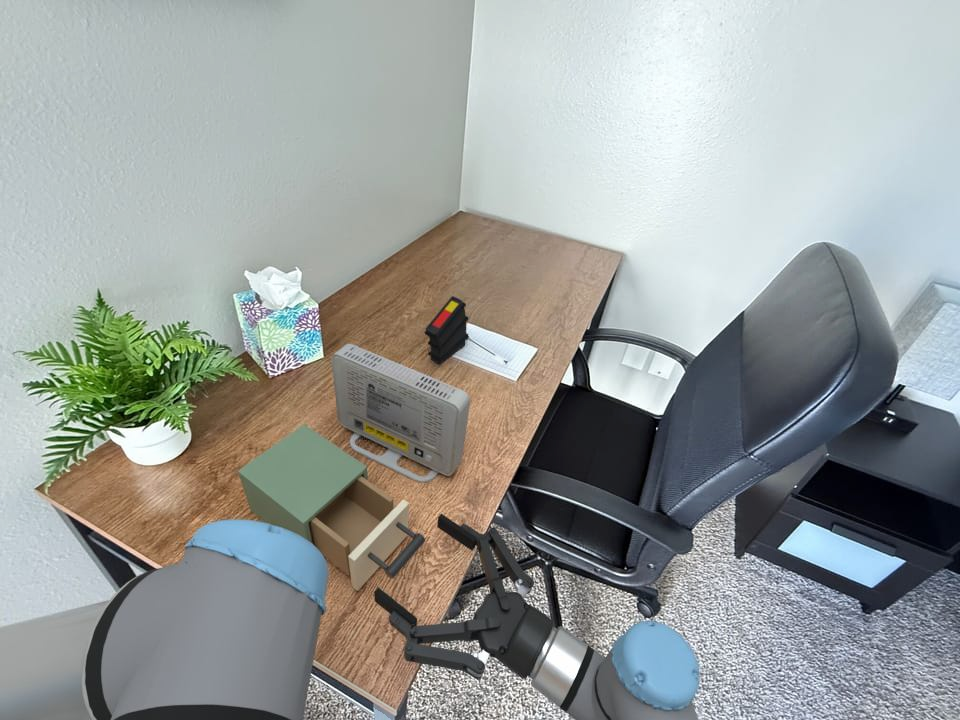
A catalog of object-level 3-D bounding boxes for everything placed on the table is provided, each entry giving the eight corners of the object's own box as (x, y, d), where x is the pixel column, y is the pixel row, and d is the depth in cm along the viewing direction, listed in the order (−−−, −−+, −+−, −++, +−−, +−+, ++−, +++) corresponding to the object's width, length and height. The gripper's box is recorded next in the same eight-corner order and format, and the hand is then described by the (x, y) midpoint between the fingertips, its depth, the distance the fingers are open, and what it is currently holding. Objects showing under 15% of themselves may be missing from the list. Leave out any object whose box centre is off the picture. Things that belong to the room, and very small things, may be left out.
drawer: (432, 551, 74) (435, 521, 69) (383, 612, 66) (382, 583, 61) (348, 491, 81) (345, 459, 76) (295, 539, 73) (287, 507, 68)
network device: (466, 462, 90) (477, 386, 78) (444, 495, 84) (452, 418, 71) (357, 412, 97) (352, 335, 85) (329, 439, 91) (319, 360, 78)
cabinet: (369, 505, 80) (367, 466, 74) (311, 561, 72) (303, 523, 65) (311, 463, 86) (304, 423, 79) (250, 510, 77) (237, 471, 70)
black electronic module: (474, 335, 120) (464, 300, 108) (445, 374, 116) (431, 342, 103) (463, 329, 122) (451, 294, 109) (433, 367, 117) (418, 335, 104)
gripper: (484, 767, 51) (346, 644, 59) (575, 585, 69) (458, 508, 76) (493, 750, 47) (341, 619, 54) (588, 559, 64) (462, 480, 72)
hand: (409, 554), depth 65 cm, fingers open, 13 cm apart
